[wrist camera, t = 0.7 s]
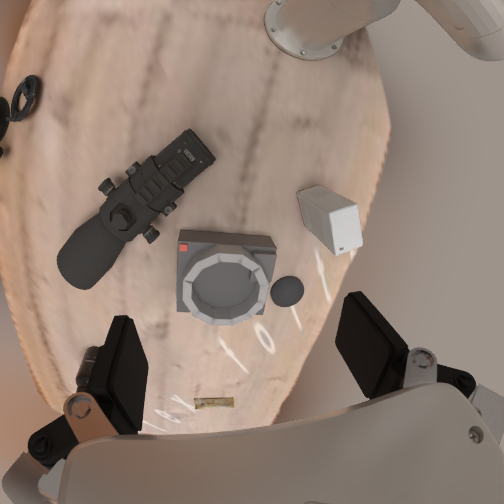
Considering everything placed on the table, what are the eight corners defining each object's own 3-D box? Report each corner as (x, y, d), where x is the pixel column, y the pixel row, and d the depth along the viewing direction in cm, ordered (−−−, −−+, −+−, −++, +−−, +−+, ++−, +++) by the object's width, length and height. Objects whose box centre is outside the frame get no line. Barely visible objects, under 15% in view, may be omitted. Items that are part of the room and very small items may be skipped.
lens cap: (273, 274, 47) (275, 277, 46) (305, 275, 48) (307, 279, 47) (267, 303, 49) (268, 306, 48) (297, 303, 51) (299, 307, 50)
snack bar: (233, 396, 60) (234, 405, 57) (232, 399, 60) (234, 409, 58) (194, 397, 58) (194, 407, 55) (194, 400, 59) (194, 410, 56)
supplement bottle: (97, 341, 47) (82, 385, 36) (120, 361, 50) (110, 405, 39) (80, 352, 47) (65, 393, 37) (101, 370, 50) (91, 412, 40)
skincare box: (327, 217, 44) (364, 246, 33) (303, 225, 44) (335, 258, 33) (320, 183, 41) (358, 203, 30) (295, 190, 41) (327, 213, 30)
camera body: (180, 229, 40) (176, 250, 34) (269, 236, 43) (282, 256, 37) (178, 295, 45) (175, 323, 39) (257, 299, 48) (266, 326, 41)
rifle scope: (226, 169, 38) (233, 181, 29) (109, 275, 41) (90, 310, 33) (180, 115, 33) (171, 109, 25) (66, 232, 37) (38, 259, 28)
